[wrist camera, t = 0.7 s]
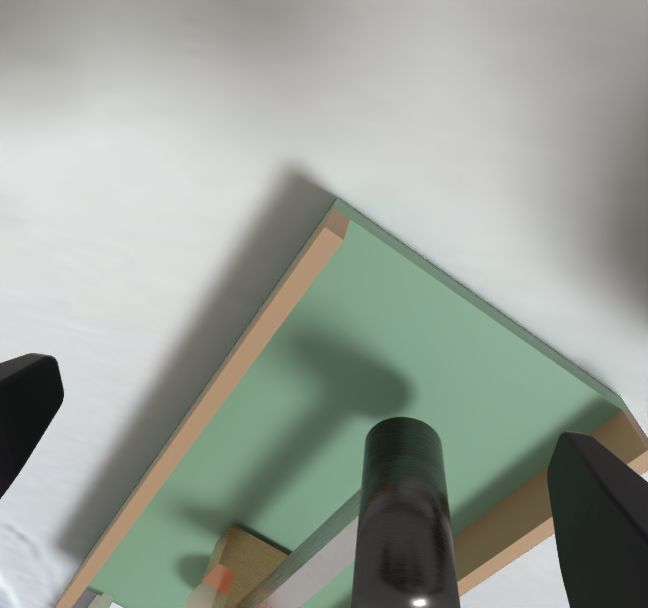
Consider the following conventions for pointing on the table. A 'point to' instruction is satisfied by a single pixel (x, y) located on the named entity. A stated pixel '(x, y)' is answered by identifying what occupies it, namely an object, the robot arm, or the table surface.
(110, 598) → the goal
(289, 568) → the rod
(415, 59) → the table surface
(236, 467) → the pitch
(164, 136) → the table surface
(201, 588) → the ball
